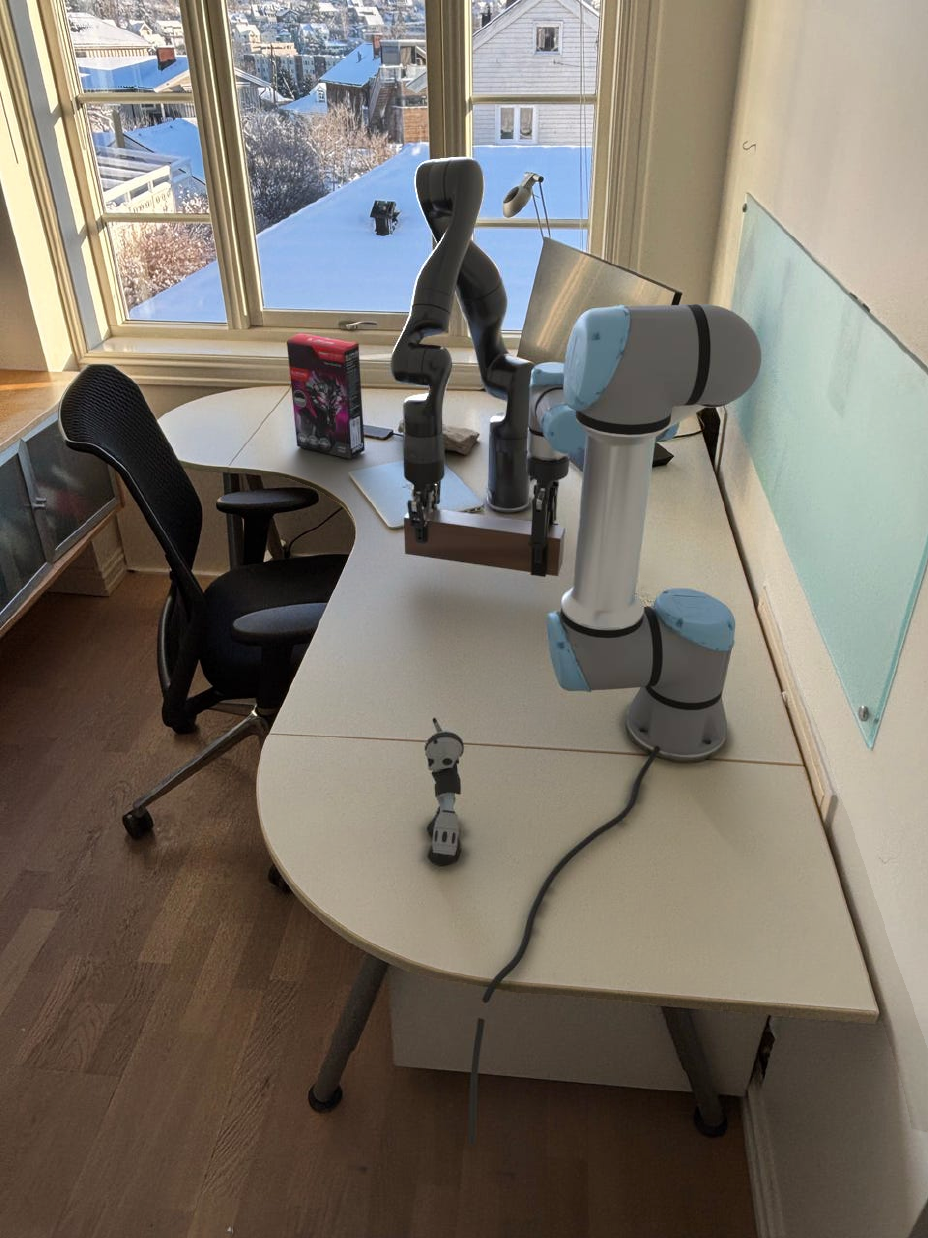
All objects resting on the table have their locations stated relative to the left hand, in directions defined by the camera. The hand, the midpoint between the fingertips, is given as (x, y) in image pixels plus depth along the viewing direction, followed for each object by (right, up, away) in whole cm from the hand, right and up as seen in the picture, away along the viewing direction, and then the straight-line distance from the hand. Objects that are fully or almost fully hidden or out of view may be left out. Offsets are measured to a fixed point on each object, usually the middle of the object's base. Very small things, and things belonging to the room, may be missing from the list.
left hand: (425, 534), depth 178 cm
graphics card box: (-26, +26, +54) cm, 65 cm away
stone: (0, +28, +57) cm, 64 cm away
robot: (+5, -46, -54) cm, 71 cm away
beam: (+11, -5, -1) cm, 12 cm away
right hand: (+22, -6, -3) cm, 23 cm away
